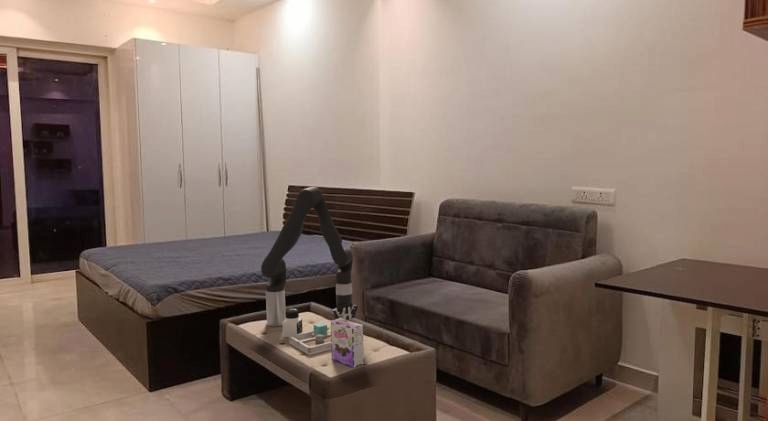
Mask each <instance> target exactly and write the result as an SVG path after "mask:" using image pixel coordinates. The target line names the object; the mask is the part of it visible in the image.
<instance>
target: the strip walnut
mask: <svg viewBox="0 0 768 421" xmlns="http://www.w3.org/2000/svg"><path fill="white" fill-rule="evenodd" d="M327 342H331V337H328V338H324V343H327ZM304 344H306V345H307V346H309V347H312V346H315V345H319V344H316V342H315V341H312V342H308V343H304ZM322 344H323V343H322Z"/></svg>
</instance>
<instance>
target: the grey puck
mask: <svg viewBox="0 0 768 421" xmlns="http://www.w3.org/2000/svg"><path fill="white" fill-rule="evenodd" d="M315 342H316V344H322V343H324V335H321V334H319V335H316V336H315Z"/></svg>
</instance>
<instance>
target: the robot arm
mask: <svg viewBox="0 0 768 421" xmlns="http://www.w3.org/2000/svg"><path fill="white" fill-rule="evenodd" d="M311 209H313V210H314V211H315V213H316V216H317V218H318V221H319V228H320V232H321V234H322V237H323V239H324V240H325V242H326V245H327V246H328V249H329V252H330V256H331V257H332V258H331V259H332V260H333V262H334V263H335V265H337V267H338V268H337V271H336V274H335V280H336V281H335V283H336V284H335V302H336V306H335V308H333V309H332V308H331V310H330V312H331V314H332V316H333V318H334V319H333V320H335V319H338V318H344V317H347V318H349V321H352V319H355V316H356V314H357V312H358V311H357V310H358V306H359V305H356V304H353V285H352V270H353V261H354V257H353V253H352V252H351V250H350V249H348V248H344V246H343V245H342V244H343V239H342V237H341V235H340V233H339V231H338V229H337V228H336V226H335V224H334V222H333V219H332V216H331V214H330V212H329V209H328V206H327V203H326V200H325V197H324V195H323V193H322V190H321V189H320V188H318V187H317V186H309V187H306V188H304V189H302V190H300V191H299V193H298V194H297V197H296V199H295V201H294V204H293V207H292V210H291V212H290V213H289V215H288V217H287V219H286V221H285V222H284V224H283V226H282V228H281V230H280V232H279V234H278V235H277V238H276V239H275V242H274V243H273V245H272V247H271V249H270V251H269V252H268V253H267V255H266V257H265V258H264V260H263V261H262V263H261V265H260V266H261V267H260V273H261V274H262V276H263V277H265V278H267V279H269V280H268V282H266V284H265V303H266V304H265V305H266V308H265V310H266V312H265V313H266V325H267V326H269V327H281V326H282V327H283V325H282V323H283V322H284V321H285V320H286V315H285V312H286V311H287V310H286V296H285V295H286V294H285V292H286V291H285V290H286V289H285V288H286V283H287V265H286V262H285V260H284V257H285V256H286V255H287V254H288V253H289V252H290V251H291V250H292V249H293V248H294V247H295V246H296V244H297V243H298V242H299V239H300V238H301V235H302V233H303V230H304V229H303V228H304V221H305V219H306V217H307V215H308V214H309V212H310V210H311Z"/></svg>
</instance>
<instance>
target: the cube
mask: <svg viewBox="0 0 768 421" xmlns="http://www.w3.org/2000/svg"><path fill="white" fill-rule="evenodd" d="M327 327H328V324H326V323H324V322H319V323H315V324H313V330H314V334H315V335H319V334H321V335H327Z"/></svg>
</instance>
